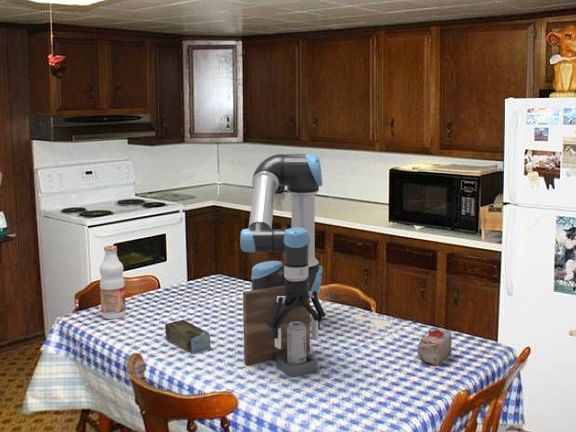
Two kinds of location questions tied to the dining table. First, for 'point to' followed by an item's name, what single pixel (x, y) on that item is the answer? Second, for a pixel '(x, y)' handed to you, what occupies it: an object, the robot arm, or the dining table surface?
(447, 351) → the food item
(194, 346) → the beverage carton
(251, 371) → the dining table surface
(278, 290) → the wall board
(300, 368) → the can cradle
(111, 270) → the fruit juice
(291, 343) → the energy drink can
